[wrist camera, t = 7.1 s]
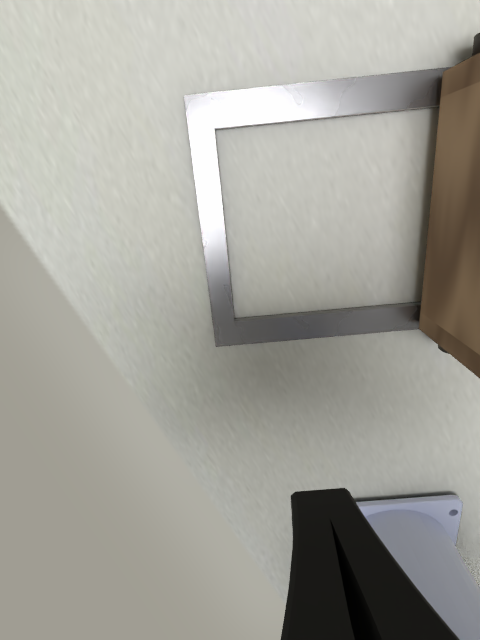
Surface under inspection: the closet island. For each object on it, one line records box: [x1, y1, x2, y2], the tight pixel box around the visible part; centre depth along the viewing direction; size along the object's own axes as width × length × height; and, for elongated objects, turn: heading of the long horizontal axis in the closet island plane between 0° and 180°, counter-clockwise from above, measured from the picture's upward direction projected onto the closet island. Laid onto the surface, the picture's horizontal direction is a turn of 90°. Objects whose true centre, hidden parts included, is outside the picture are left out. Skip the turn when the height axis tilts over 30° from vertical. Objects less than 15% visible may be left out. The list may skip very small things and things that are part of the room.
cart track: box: [184, 67, 451, 347], centre depth 15 cm, size 10×22×1 cm, turn 95°
